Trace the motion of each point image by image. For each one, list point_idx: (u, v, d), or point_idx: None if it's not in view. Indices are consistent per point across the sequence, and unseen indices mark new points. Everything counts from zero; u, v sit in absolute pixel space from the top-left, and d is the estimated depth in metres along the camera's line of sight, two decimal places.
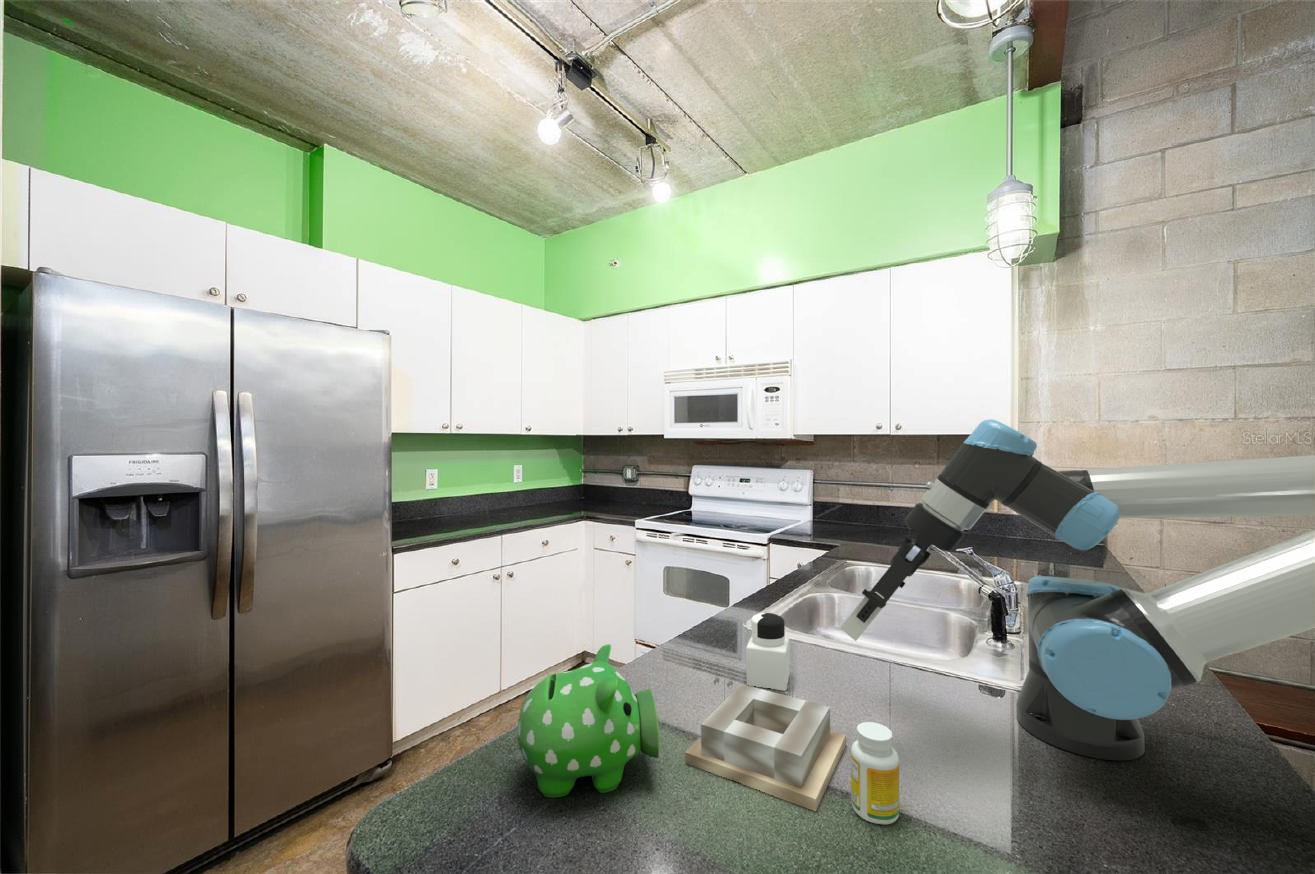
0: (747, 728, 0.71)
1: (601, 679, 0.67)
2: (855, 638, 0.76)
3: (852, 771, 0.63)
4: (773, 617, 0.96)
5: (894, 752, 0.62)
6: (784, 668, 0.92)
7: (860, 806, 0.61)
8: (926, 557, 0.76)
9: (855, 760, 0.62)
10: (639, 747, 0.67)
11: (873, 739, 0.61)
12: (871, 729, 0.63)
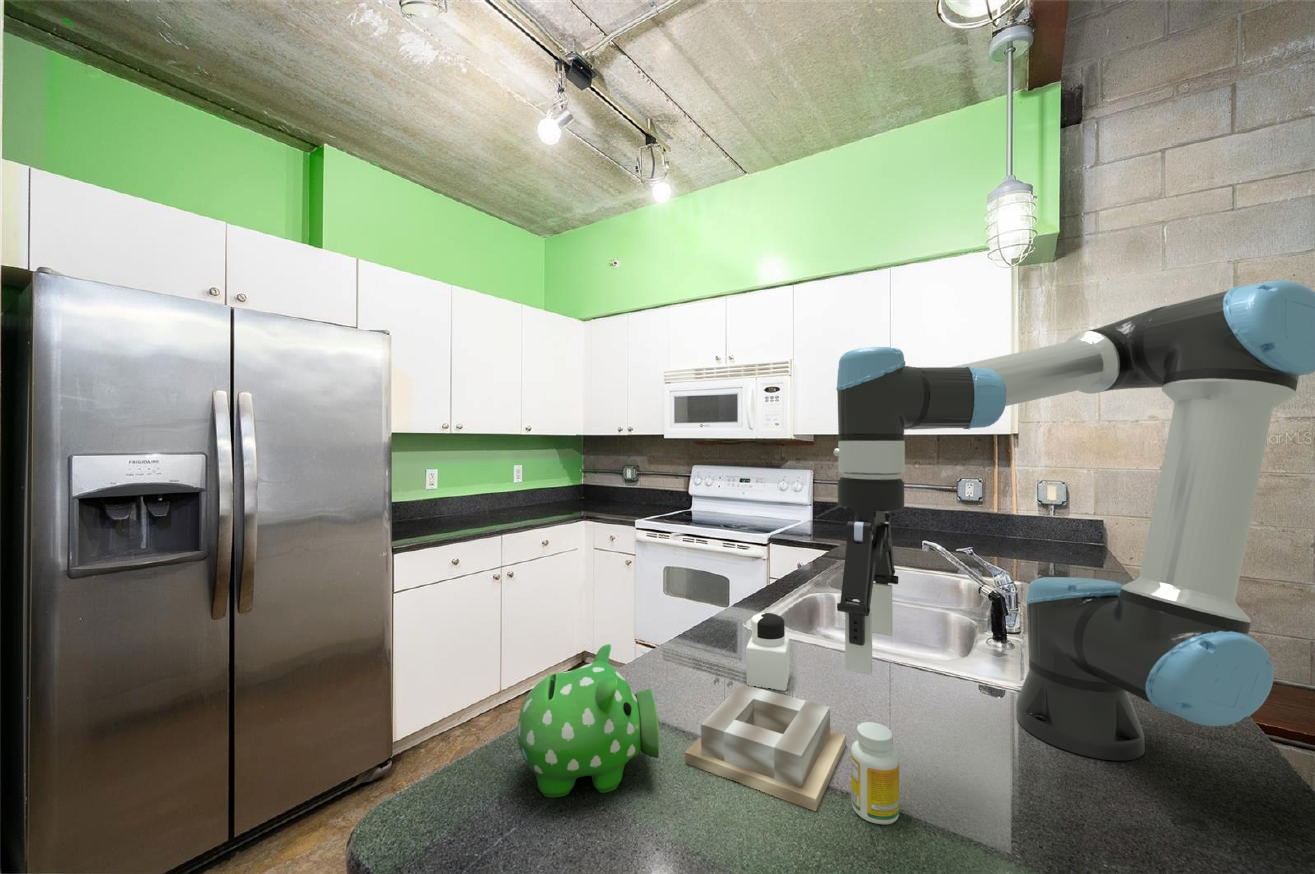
0: (747, 728, 0.71)
1: (601, 679, 0.67)
2: (868, 672, 0.56)
3: (852, 771, 0.63)
4: (773, 617, 0.96)
5: (894, 752, 0.62)
6: (784, 668, 0.92)
7: (860, 806, 0.61)
8: (883, 529, 0.61)
9: (855, 760, 0.62)
10: (639, 747, 0.67)
11: (873, 739, 0.61)
12: (871, 729, 0.63)
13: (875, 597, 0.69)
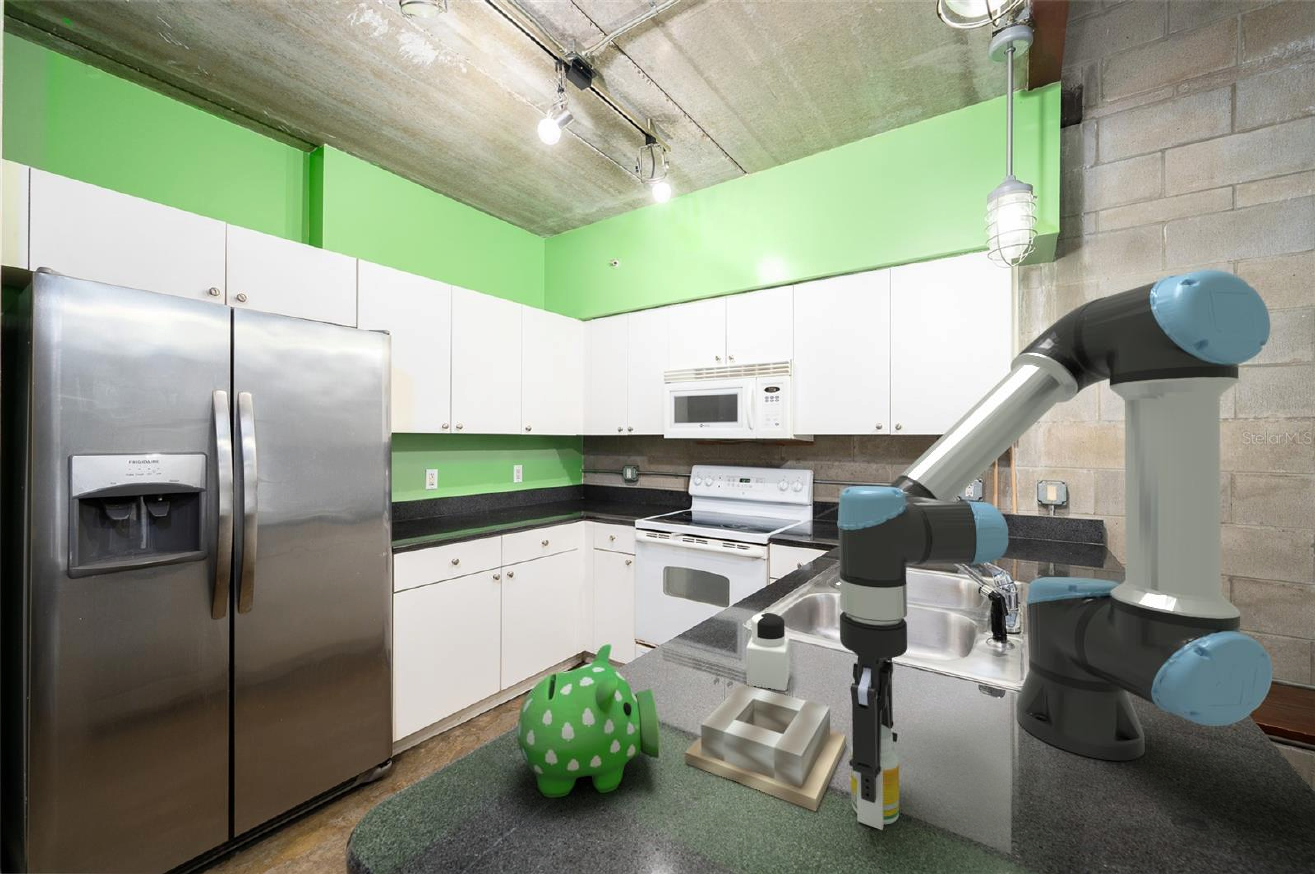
0: (747, 728, 0.71)
1: (601, 679, 0.67)
2: (879, 826, 0.59)
3: (852, 771, 0.63)
4: (773, 617, 0.96)
5: (894, 752, 0.62)
6: (784, 668, 0.92)
7: None
8: (886, 676, 0.60)
9: None
10: (639, 747, 0.67)
11: None
12: None
13: None
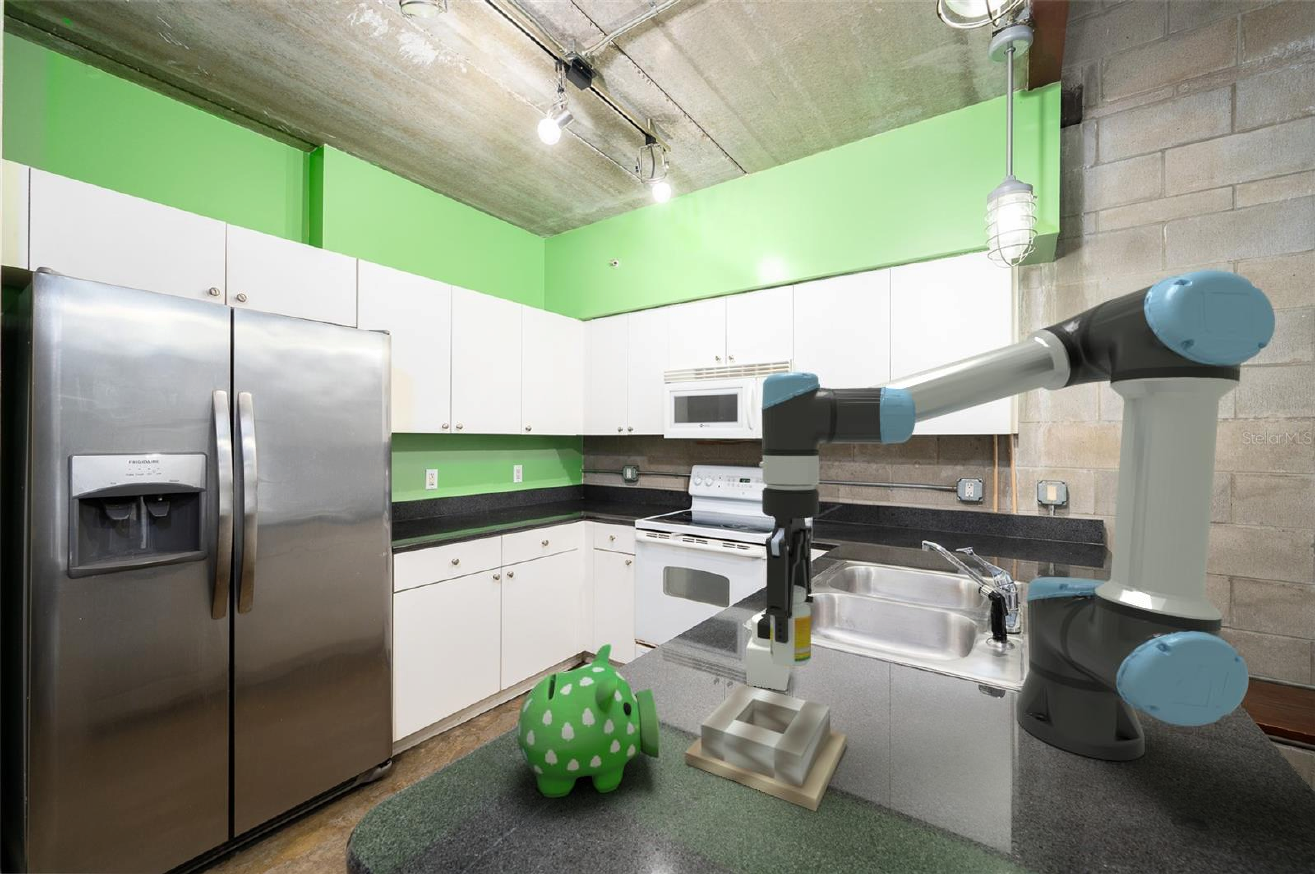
0: (747, 728, 0.71)
1: (601, 679, 0.67)
2: (791, 665, 0.67)
3: (771, 624, 0.71)
4: None
5: (807, 606, 0.70)
6: (784, 668, 0.92)
7: None
8: (799, 536, 0.68)
9: None
10: (639, 747, 0.67)
11: None
12: None
13: None
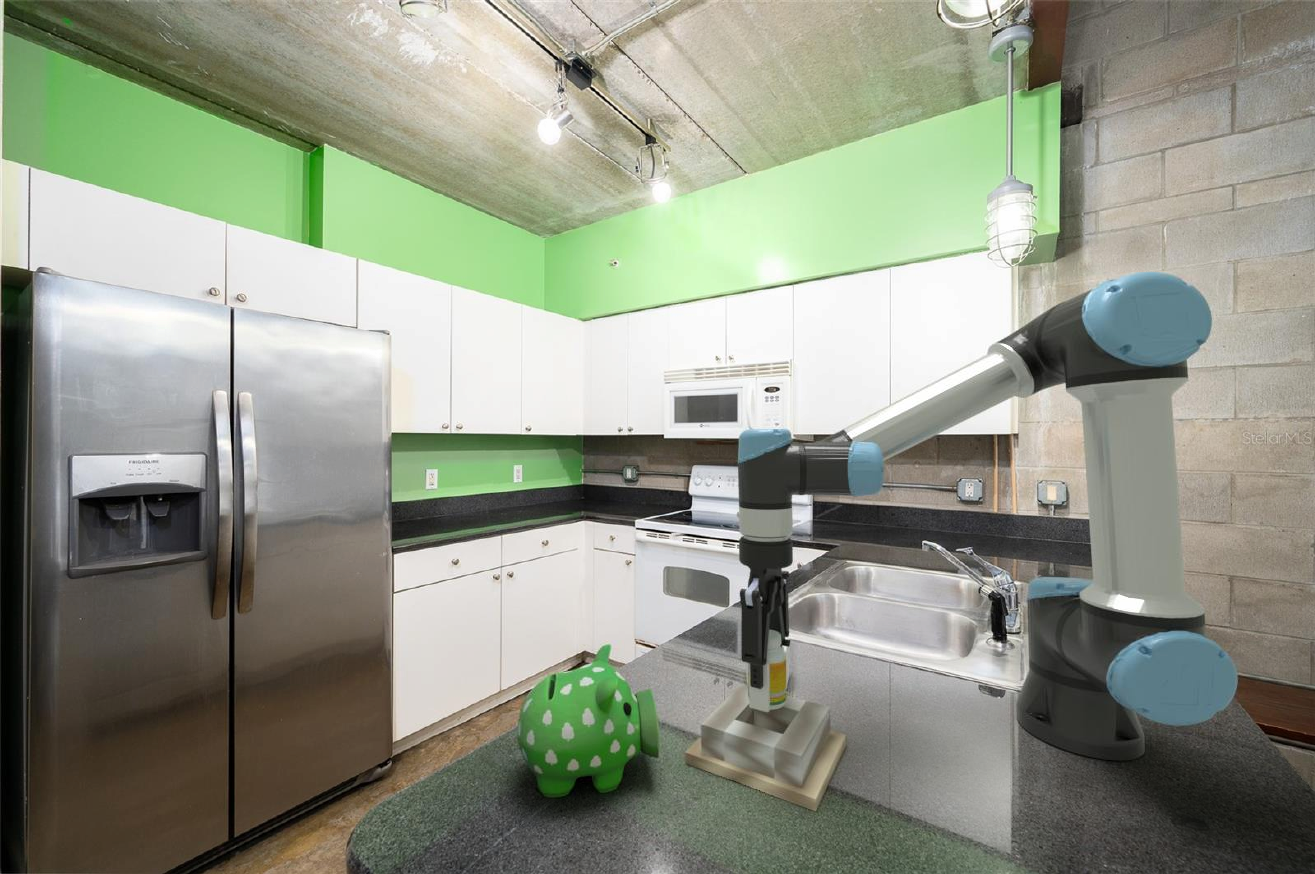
0: (747, 728, 0.71)
1: (601, 679, 0.67)
2: (766, 709, 0.70)
3: (748, 668, 0.74)
4: None
5: (782, 651, 0.73)
6: None
7: None
8: (773, 585, 0.72)
9: None
10: (639, 747, 0.67)
11: None
12: None
13: None
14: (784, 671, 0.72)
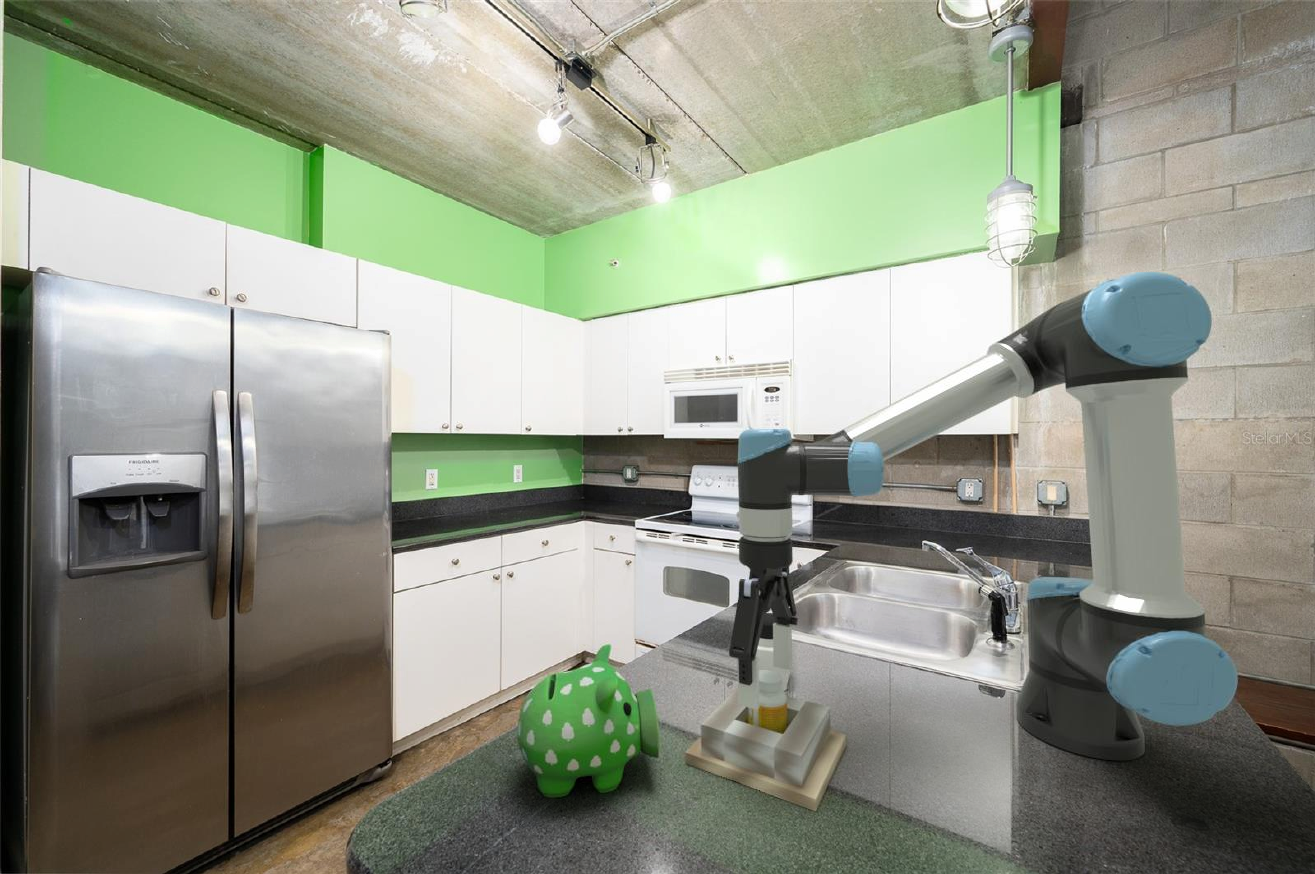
0: (747, 728, 0.71)
1: (601, 679, 0.67)
2: (755, 707, 0.67)
3: (749, 710, 0.74)
4: (773, 617, 0.96)
5: (783, 693, 0.73)
6: None
7: None
8: (773, 583, 0.72)
9: None
10: (639, 747, 0.67)
11: (764, 681, 0.72)
12: (765, 675, 0.74)
13: (777, 636, 0.80)
14: (785, 714, 0.72)
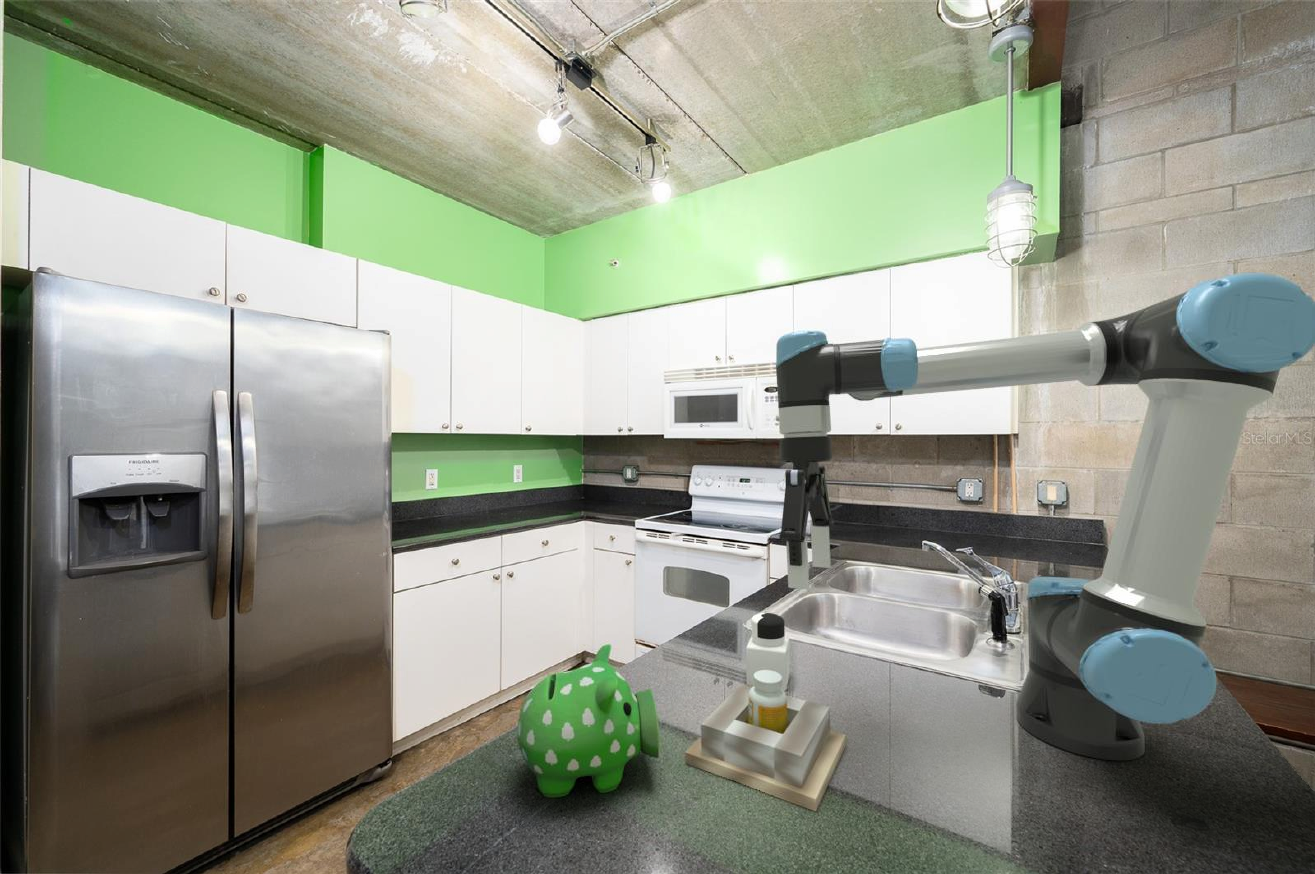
0: (747, 728, 0.71)
1: (601, 679, 0.67)
2: (805, 587, 0.71)
3: (749, 710, 0.74)
4: (773, 617, 0.96)
5: (783, 693, 0.73)
6: (784, 668, 0.92)
7: None
8: (815, 476, 0.76)
9: (750, 700, 0.73)
10: (639, 747, 0.67)
11: (764, 681, 0.72)
12: (765, 675, 0.74)
13: (815, 537, 0.84)
14: (785, 714, 0.72)
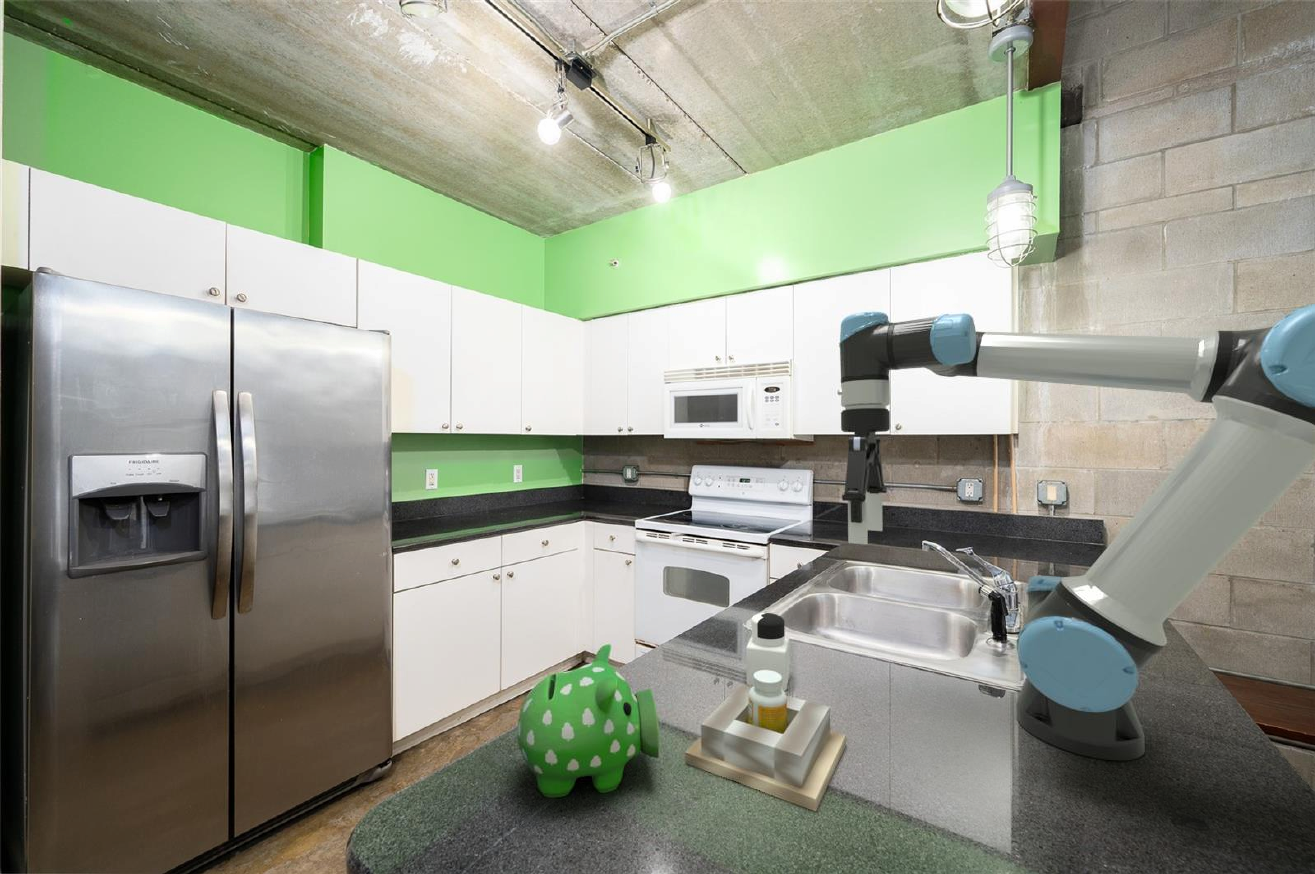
0: (747, 728, 0.71)
1: (601, 679, 0.67)
2: (865, 542, 0.79)
3: (748, 710, 0.74)
4: (773, 617, 0.96)
5: (783, 693, 0.73)
6: (784, 668, 0.92)
7: None
8: (874, 445, 0.84)
9: (750, 700, 0.73)
10: (639, 747, 0.67)
11: (764, 681, 0.72)
12: (765, 675, 0.74)
13: (869, 503, 0.92)
14: (785, 714, 0.72)
